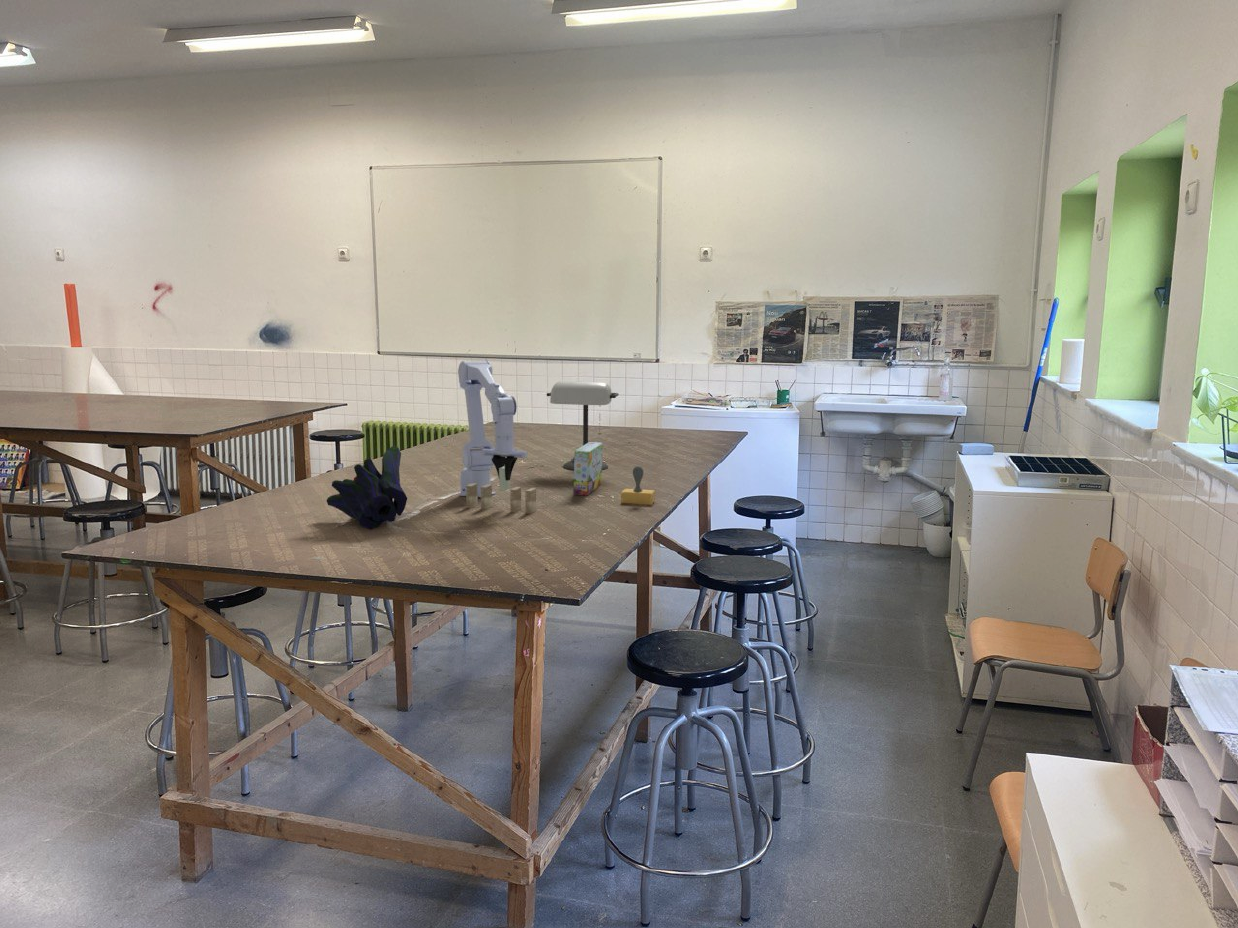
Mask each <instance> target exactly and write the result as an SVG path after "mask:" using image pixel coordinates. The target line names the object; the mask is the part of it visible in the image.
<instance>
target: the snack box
mask: <svg viewBox="0 0 1238 928" xmlns="http://www.w3.org/2000/svg"><path fill="white" fill-rule="evenodd" d="M603 446H604V443H603V442H598V441H597V442H595V441H592V442H591V441H588V443H587V444H585V445H584V446H583V445H582V446H580V447H579V448H577V449H576V450H574V456H573V458H574V470H573V495H574V496H575V495H576V496H589V495H590V493H592V492H594V491H595V490H596V489H597V488H598V487H600V485H602V484H603V483H602V479H603V478H602V476H603V475H602V471H603V470H602V462H603Z"/></svg>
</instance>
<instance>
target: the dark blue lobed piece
mask: <svg viewBox="0 0 1238 928" xmlns="http://www.w3.org/2000/svg"><path fill="white" fill-rule="evenodd" d="M401 457H402V452H401V450H400V448H399V447H398V446H397V445H392V446H390V447H389V448H388V449H387V450H386V451H385V452H384V453H383V456H382V459H381V465H382V466H381V472H379V470H378V469H377V467H376V466H375V463H374V462H373V460H372V459H371V458H369V459H368V458H366V459H365V460H363V465H362V464H360V463H358V464H355V465H354V466H353V469H354V472H355V475H356V476H354V477H353V479H348V478H345V479H343V480H338V479H337V480H333V481H332V482H331V487H332V488H334V489H335V490H336V491H337V493H336V494H332V495H331V496H328V497H327V499H325V500H326V502H327V505H328V506H329V507H332V508H335V509H337V510H339V511H341V512H342V513H344V514H345V515H347V516H348V517H350V518H351V519H353V520H354V521H356V522H358V523H359V525H360V526H361V527H363V528H366V529H369V530H373V529H376V528H378V527H379V526H381V525H383V524H384V523H386V522H389V523H393V522H395V521H396V517H397V516H399V517H400V516H401V515H402V514H403V512H404V510H405V509H406V505H407V501H408V497H407V495H406V493H405V491H404V490H403V488H402V486H401V483H400V481H401V477H400V467H401V466H400V465H401V459H402V458H401Z"/></svg>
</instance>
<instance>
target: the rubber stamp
mask: <svg viewBox="0 0 1238 928" xmlns="http://www.w3.org/2000/svg"><path fill="white" fill-rule="evenodd" d="M632 475H633V479H634V481H635V488H624V489H623V490H622V491H621V496H620V498H621V501H620V503H621V504H629V503H631V504H632V505H634V504H635V505H648V506H653V504H654V502H655V496H656V495H655V490H654V489H642V488H641V486H640V485H641V482H642V479H643V478H644V477H643V476H644V468H643V467H642V466H641V465H636V466H634V467H633V469H632Z"/></svg>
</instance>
